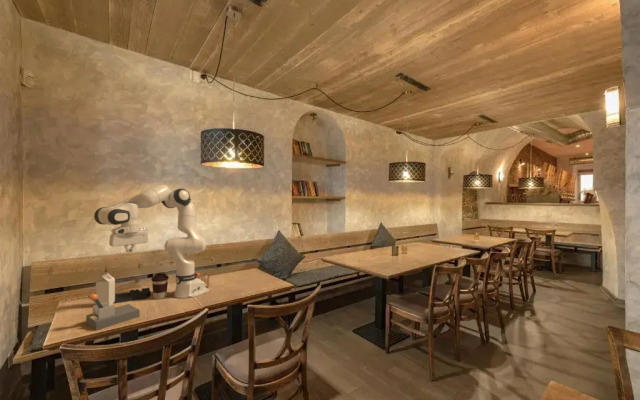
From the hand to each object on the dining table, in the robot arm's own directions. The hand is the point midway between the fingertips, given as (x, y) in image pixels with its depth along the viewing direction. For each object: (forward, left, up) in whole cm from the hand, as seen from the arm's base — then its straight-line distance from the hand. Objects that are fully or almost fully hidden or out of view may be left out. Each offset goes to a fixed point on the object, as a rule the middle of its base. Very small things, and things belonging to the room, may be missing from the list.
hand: (129, 252), depth 175 cm
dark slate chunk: (-8, -17, -34) cm, 39 cm away
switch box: (+13, +13, -33) cm, 38 cm away
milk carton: (+7, -15, -33) cm, 37 cm away
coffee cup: (-19, -2, -33) cm, 38 cm away
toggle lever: (+17, +13, -27) cm, 35 cm away
